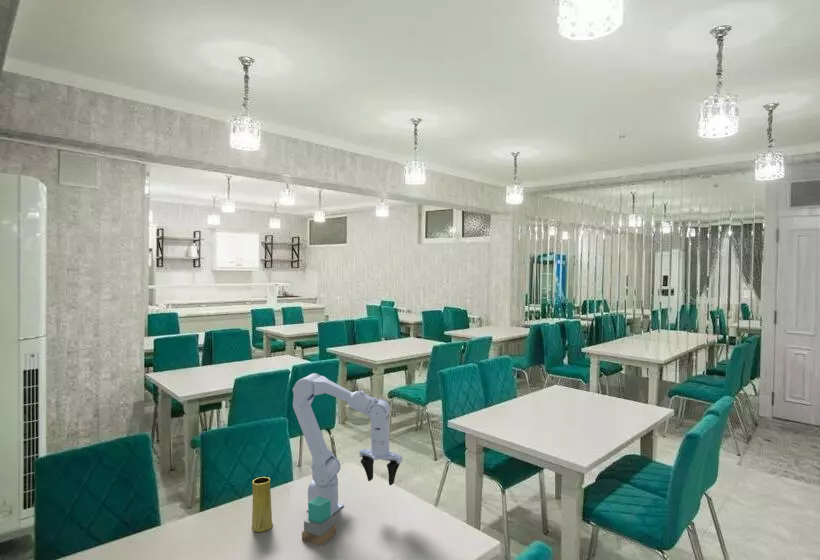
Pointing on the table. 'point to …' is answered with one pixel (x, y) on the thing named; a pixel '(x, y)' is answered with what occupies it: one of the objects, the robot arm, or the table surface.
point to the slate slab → (318, 526)
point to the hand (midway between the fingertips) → (380, 481)
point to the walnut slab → (318, 539)
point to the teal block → (319, 509)
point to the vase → (261, 505)
